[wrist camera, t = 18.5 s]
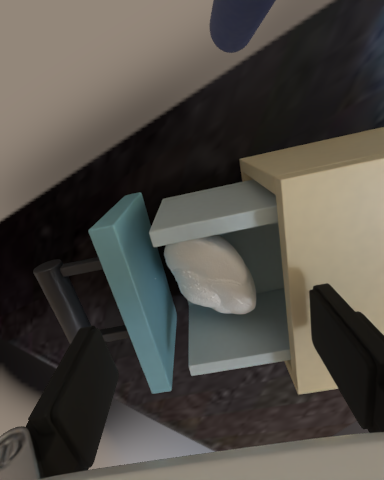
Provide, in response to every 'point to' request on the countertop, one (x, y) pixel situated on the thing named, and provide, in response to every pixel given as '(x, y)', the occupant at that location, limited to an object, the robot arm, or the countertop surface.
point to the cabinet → (326, 234)
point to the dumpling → (212, 274)
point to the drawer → (157, 290)
